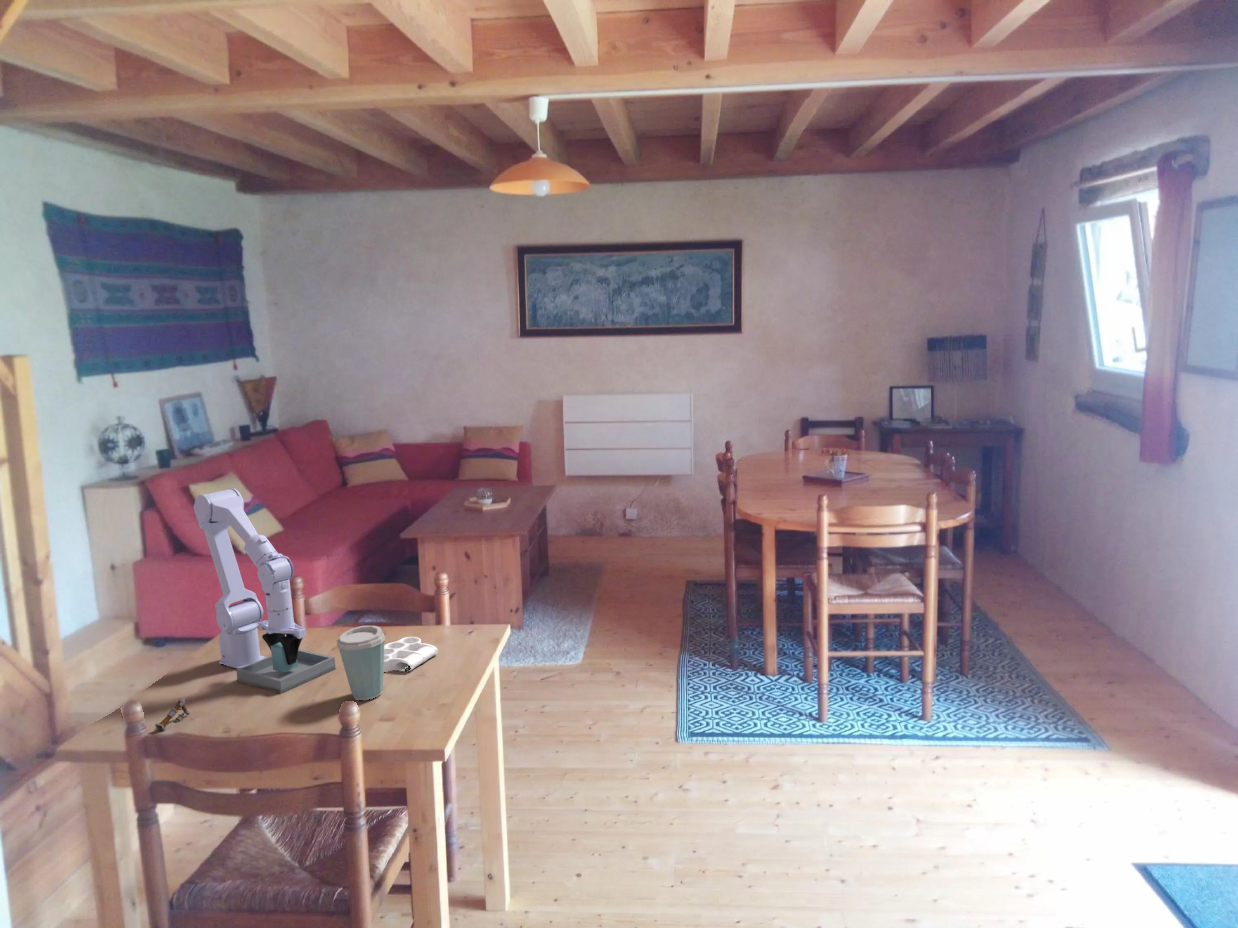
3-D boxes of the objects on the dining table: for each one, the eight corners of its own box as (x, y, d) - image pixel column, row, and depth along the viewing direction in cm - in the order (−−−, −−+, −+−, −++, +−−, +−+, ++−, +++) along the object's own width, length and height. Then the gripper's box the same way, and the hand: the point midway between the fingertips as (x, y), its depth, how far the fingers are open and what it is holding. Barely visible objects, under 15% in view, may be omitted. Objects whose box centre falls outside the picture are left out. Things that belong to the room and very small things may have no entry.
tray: (237, 681, 222) (236, 669, 221) (292, 658, 235) (290, 647, 234) (281, 693, 213) (280, 680, 213) (335, 668, 227) (334, 657, 226)
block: (273, 669, 223) (270, 645, 222) (286, 663, 226) (284, 640, 225) (284, 672, 221) (281, 648, 220) (297, 666, 224) (295, 642, 223)
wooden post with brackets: (194, 710, 204) (185, 696, 202) (170, 739, 198) (160, 724, 195) (188, 709, 205) (179, 695, 202) (163, 738, 198) (154, 723, 196)
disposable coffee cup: (372, 707, 203) (366, 642, 201) (331, 702, 207) (325, 638, 205) (399, 688, 213) (394, 626, 211) (360, 683, 217) (354, 622, 214)
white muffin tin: (403, 679, 219) (353, 672, 225) (445, 652, 236) (398, 646, 241) (402, 666, 219) (352, 659, 224) (444, 639, 235) (397, 634, 241)
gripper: (245, 608, 222) (252, 662, 224) (286, 617, 214) (292, 672, 216) (270, 600, 228) (276, 652, 230) (310, 608, 220) (316, 662, 222)
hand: (285, 661), depth 224 cm, fingers closed on block, 4 cm apart
